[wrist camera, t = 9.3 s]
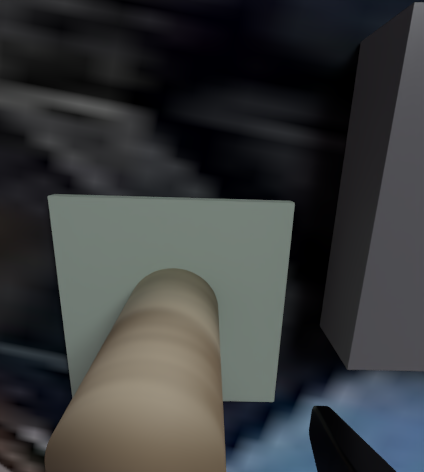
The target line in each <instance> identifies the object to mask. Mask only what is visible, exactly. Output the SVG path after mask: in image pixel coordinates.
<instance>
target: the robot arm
mask: <svg viewBox="0 0 424 472" xmlns="http://www.w3.org/2000/svg"><path fill="white" fill-rule="evenodd" d="M309 436H310V441H311V446H312V450H313V454H314V459H315V463H316V467H317V472H396V471H395V470H394V469H393V468H392V467H391V466H390V465H389V464H388V463H387V462H386V461H385V460H384V459H383V458H382V457H381V456H380V455H379V454H377V453H376V452H375V451H374V450H373V449H372V448H371V447H370V446H369V445H368V444H367V443H366V442H365V441H364V440H363V439H362V438H361V437H360V436H359V435H358V434H357V433H356V432H355V431H354V430H353V429H352V428H351V427H350V426H349V425H348V424H347V423H346V422H344V421H343V420H342V419H341V418H340V417H339V416H338V415H337V414H336V413H335V412H334V411H333V410H332V409H331V408H330V407H328V406H314V407H313V409H312V414H311V420H310V427H309Z"/></svg>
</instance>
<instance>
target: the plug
mask: <svg viewBox="0 0 424 472" xmlns="http://www.w3.org/2000/svg"><path fill="white" fill-rule="evenodd" d="M45 470H46V472H226V458H225V437H224V416H223V396H222V375H221V354H220V333H219V313H218V302H217V298H216V295H215V293H214V291H213V289H212V288H211V287H210V285H209V284H208V283H207V282H206V281H205V280H204V279H203V278H201V277H200V276H198V275H197V274H195V273H193V272H190V271H187V270H183V269H177V268H167V269H161V270H158V271H155V272H153V273H151V274H149V275H147V276H146V277H144V278H143V279H142V280H141V281H140V282H139V283H138V284H137V286H136V287H135V288H134V290H133V292H132V294H131V296H130V297H129V299H128V301H127V303H126V304H125V306H124V308H123V310H122V312H121V313H120V315H119V317H118V319H117V320H116V322H115V324H114V326H113V327H112V329H111V331H110V333H109V335H108V336H107V338H106V340H105V342H104V343H103V345H102V347H101V349H100V351H99V352H98V354H97V356H96V358H95V359H94V361H93V363H92V365H91V366H90V368H89V370H88V372H87V374H86V375H85V377H84V379H83V381H82V382H81V384H80V386H79V388H78V390H77V391H76V393H75V395H74V397H73V398H72V400H71V402H70V404H69V405H68V407H67V409H66V411H65V413H64V414H63V416H62V418H61V420H60V421H59V423H58V425H57V427H56V429H55V430H54V432H53V434H52V436H51V438H50V440H49V442H48V445H47V448H46V452H45Z"/></svg>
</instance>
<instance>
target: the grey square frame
mask: <svg viewBox="0 0 424 472" xmlns="http://www.w3.org/2000/svg"><path fill="white" fill-rule="evenodd" d="M320 327H321V329H322V330H323V332H324V333H325V335H326V337H327V338H328V340H329V341H330V343H331V344H332V346H333V348H334V349H335V351H336V352H337V354H338V355H339V357H340V359H341V360H342V362H343V363H344V365H345V367H346V368H347V370H390V371H424V3H423V2H414V3H413V4H412V5H410V6H409V7H407V8H406V9H405V10H403V11H402V12H401V13H399V14H398V15H397V16H395V17H394V18H393V19H391V20H390V21H389V22H387V23H386V24H385V25H383V26H382V27H380V28H379V29H378V30H376V31H375V32H374V33H372V34H371V35H370V36H368V37H367V38H366V39H364V40H363V41H362V42H361V44H360V51H359V58H358V65H357V72H356V79H355V86H354V93H353V99H352V106H351V113H350V120H349V127H348V134H347V141H346V148H345V154H344V161H343V168H342V175H341V182H340V189H339V196H338V203H337V209H336V216H335V223H334V230H333V237H332V244H331V251H330V258H329V264H328V271H327V278H326V285H325V292H324V299H323V306H322V313H321V319H320Z"/></svg>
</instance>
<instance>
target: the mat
mask: <svg viewBox="0 0 424 472" xmlns="http://www.w3.org/2000/svg"><path fill="white" fill-rule="evenodd" d="M48 203H49V211H50V219H51V228H52V236H53V244H54V252H55V260H56V268H57V277H58V285H59V293H60V301H61V309H62V317H63V325H64V334H65V342H66V350H67V358H68V366H69V374H70V383H71V391H72V398H73V397H74V395H75V393H76V391H77V390H78V388H79V386H80V384H81V382H82V381H83V379H84V377H85V375H86V374H87V372H88V370H89V368H90V366H91V365H92V363H93V361H94V359H95V358H96V356H97V354H98V352H99V351H100V349H101V347H102V345H103V343H104V342H105V340H106V338H107V336H108V335H109V333H110V331H111V329H112V327H113V326H114V324H115V322H116V320H117V319H118V317H119V315H120V313H121V312H122V310H123V308H124V306H125V304H126V303H127V301H128V299H129V297H130V296H131V294H132V292H133V290H134V288H135V287H136V286H137V284H138V283H139V282H140V281H141V280H142V279H143V278H144V277H146V276H147V275H149V274H151V273H153V272H155V271H158V270H161V269H167V268H177V269H183V270H187V271H190V272H193V273H195V274H197V275H198V276H200V277H201V278H203V279H204V280H205V281H206V282H207V283H208V284H209V285H210V287H211V288H212V289H213V291H214V293H215V295H216V298H217V302H218V313H219V333H220V354H221V375H222V396H223V401H252V402H274V395H275V386H276V376H277V367H278V357H279V348H280V338H281V329H282V319H283V310H284V301H285V291H286V282H287V272H288V263H289V253H290V244H291V234H292V225H293V216H294V206H295V203H294V202H292V201H279V200H244V199H208V198H173V197H137V196H102V195H66V194H54V195H50V196H48Z"/></svg>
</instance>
